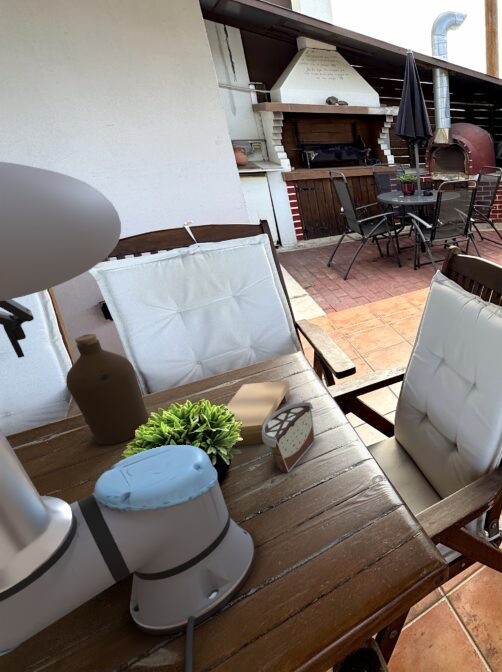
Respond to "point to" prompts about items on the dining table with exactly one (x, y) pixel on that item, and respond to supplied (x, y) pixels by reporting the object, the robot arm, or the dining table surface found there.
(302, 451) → the food container
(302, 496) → the dining table surface
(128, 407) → the olive oil
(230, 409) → the tan wooden block
